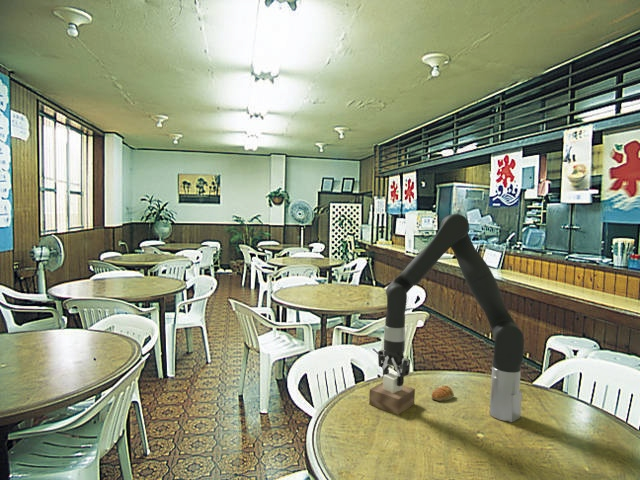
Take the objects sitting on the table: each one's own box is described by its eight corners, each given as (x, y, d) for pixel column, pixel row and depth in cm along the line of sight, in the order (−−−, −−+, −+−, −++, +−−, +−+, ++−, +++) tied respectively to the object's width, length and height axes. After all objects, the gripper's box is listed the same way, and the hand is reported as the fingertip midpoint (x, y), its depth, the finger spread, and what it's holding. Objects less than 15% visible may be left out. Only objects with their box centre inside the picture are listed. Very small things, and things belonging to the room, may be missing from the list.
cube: (402, 389, 159) (402, 376, 158) (392, 393, 156) (393, 379, 155) (392, 385, 163) (392, 372, 162) (382, 388, 160) (383, 375, 159)
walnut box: (414, 404, 160) (414, 388, 160) (397, 415, 151) (398, 399, 151) (386, 395, 168) (386, 380, 168) (369, 405, 159) (369, 389, 158)
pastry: (442, 404, 161) (443, 394, 160) (426, 398, 165) (427, 388, 165) (455, 397, 167) (455, 387, 167) (439, 392, 172) (439, 382, 172)
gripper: (416, 341, 154) (414, 386, 156) (387, 331, 166) (385, 374, 167) (402, 344, 150) (400, 391, 151) (373, 334, 161) (371, 378, 162)
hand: (392, 382), depth 159 cm, fingers open, 6 cm apart
